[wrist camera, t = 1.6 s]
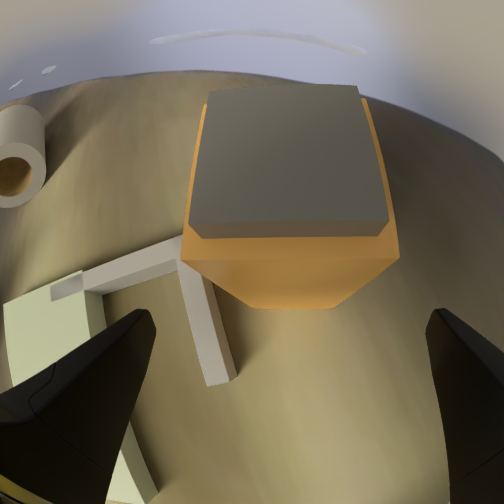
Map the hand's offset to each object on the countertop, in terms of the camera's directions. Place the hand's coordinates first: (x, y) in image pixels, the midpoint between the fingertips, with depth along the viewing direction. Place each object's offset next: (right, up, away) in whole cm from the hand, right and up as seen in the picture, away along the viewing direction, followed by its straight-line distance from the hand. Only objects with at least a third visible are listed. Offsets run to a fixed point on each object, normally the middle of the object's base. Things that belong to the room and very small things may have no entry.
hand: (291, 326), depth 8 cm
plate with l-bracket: (-14, -10, +11) cm, 20 cm away
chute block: (+2, +1, +12) cm, 12 cm away
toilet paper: (-32, +13, +21) cm, 40 cm away
